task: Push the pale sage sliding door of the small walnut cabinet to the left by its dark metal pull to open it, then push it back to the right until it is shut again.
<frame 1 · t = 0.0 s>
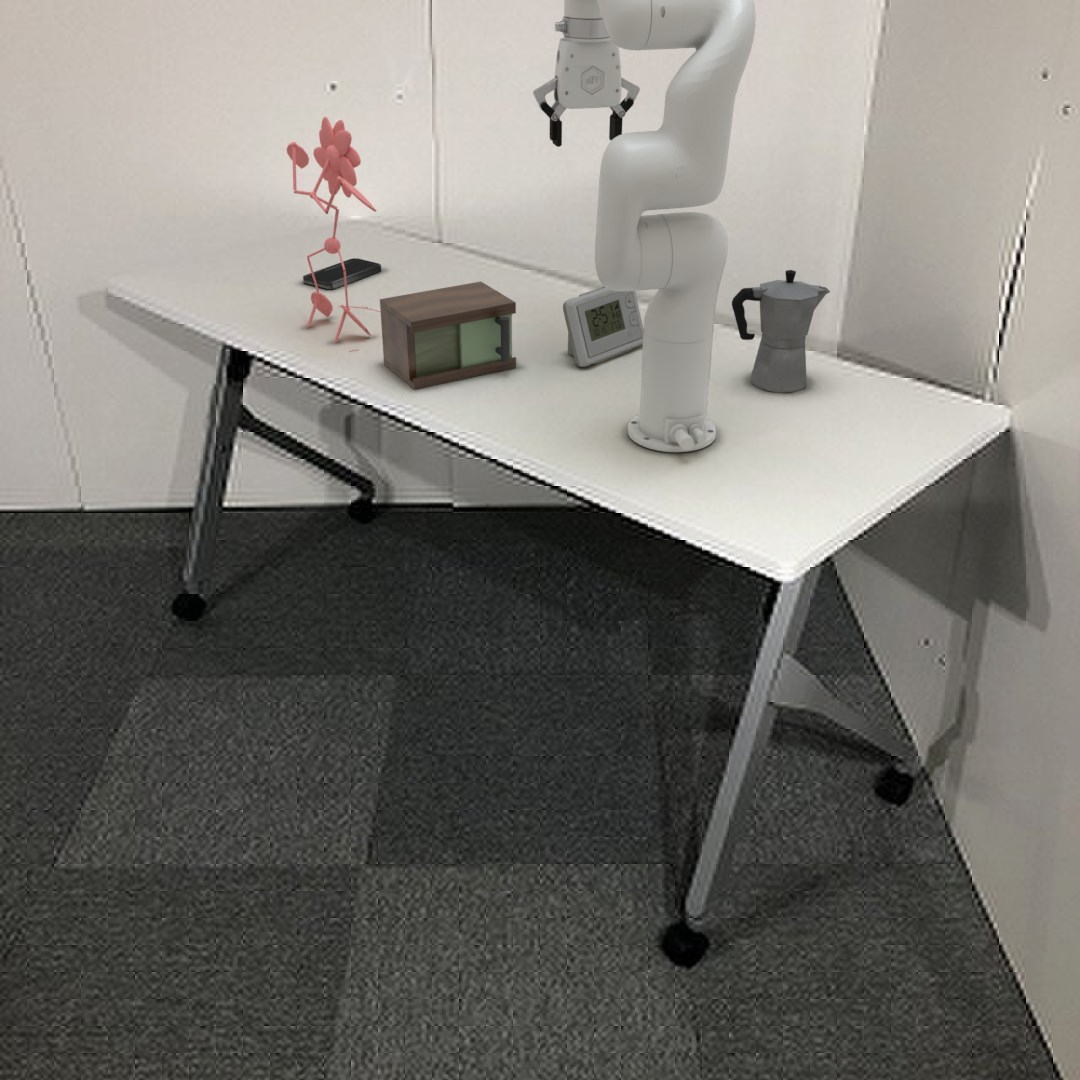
hand: (585, 143, 194), 31 cm above the table, tool pointing down, fingers open, 9 cm apart
sliding door: (490, 342, 188), point 5 cm above the table, slide at 0.0 cm
phone: (342, 277, 233), on the table
digital clock: (603, 355, 199), on the table
cabinet: (447, 364, 194), on the table
coffeepot: (771, 383, 189), on the table
figurine: (355, 327, 209), on the table
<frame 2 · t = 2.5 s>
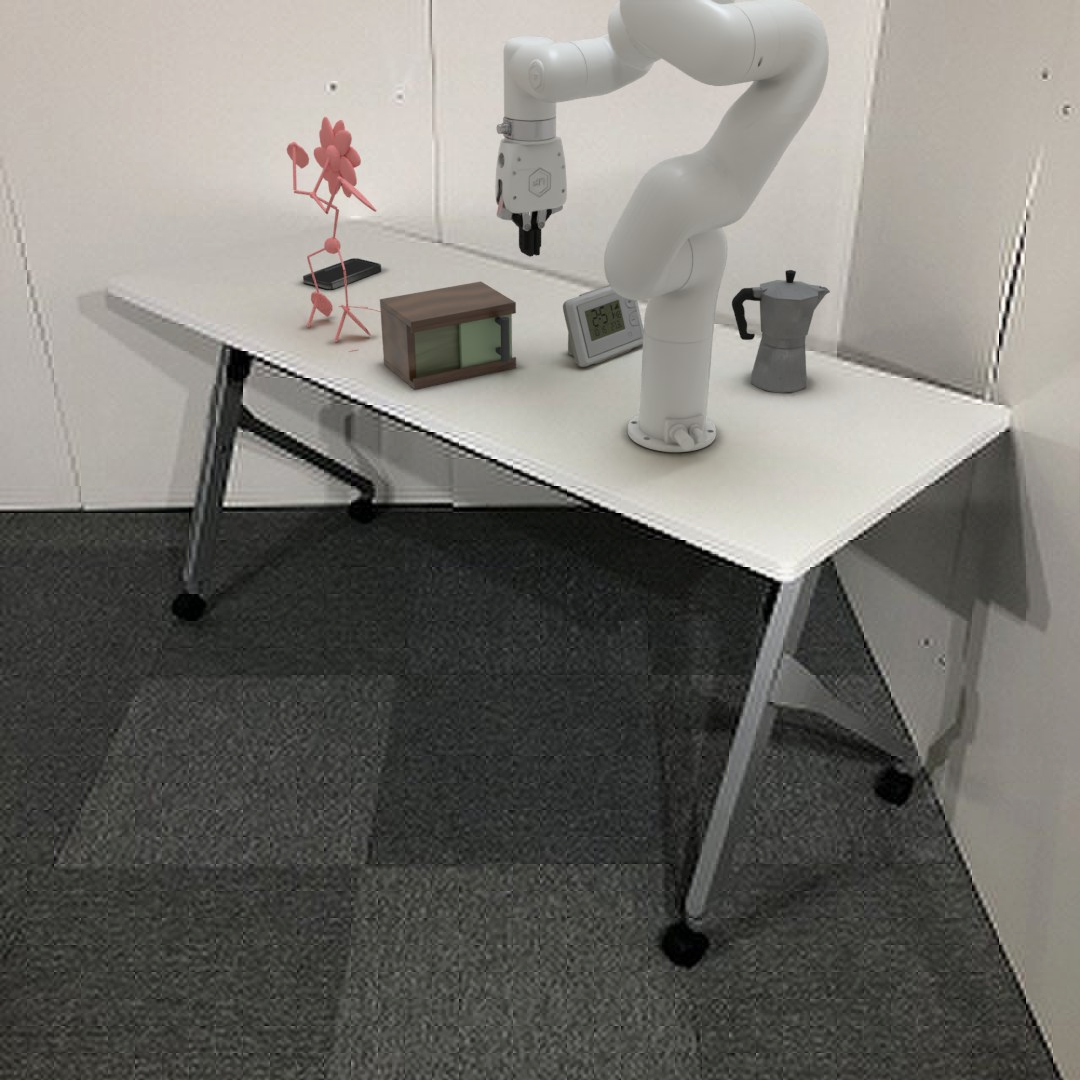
hand: (530, 253, 183), 19 cm above the table, tool pointing down, fingers closed
nothing on the table moved.
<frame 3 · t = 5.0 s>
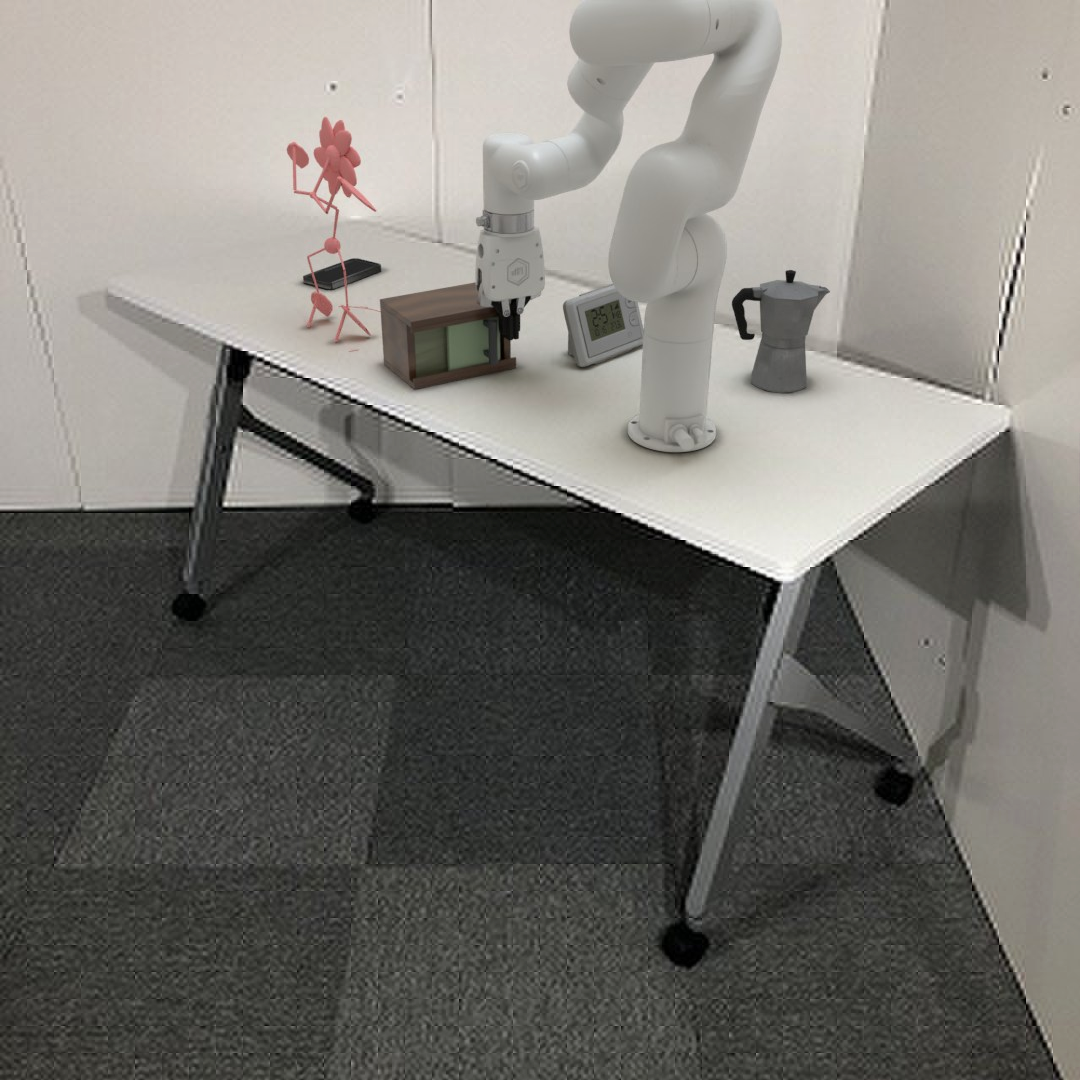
hand: (509, 337, 188), 6 cm above the table, tool pointing down, fingers closed
sliding door: (478, 344, 187), point 5 cm above the table, slide at 2.2 cm, touching gripper
everything else where it was.
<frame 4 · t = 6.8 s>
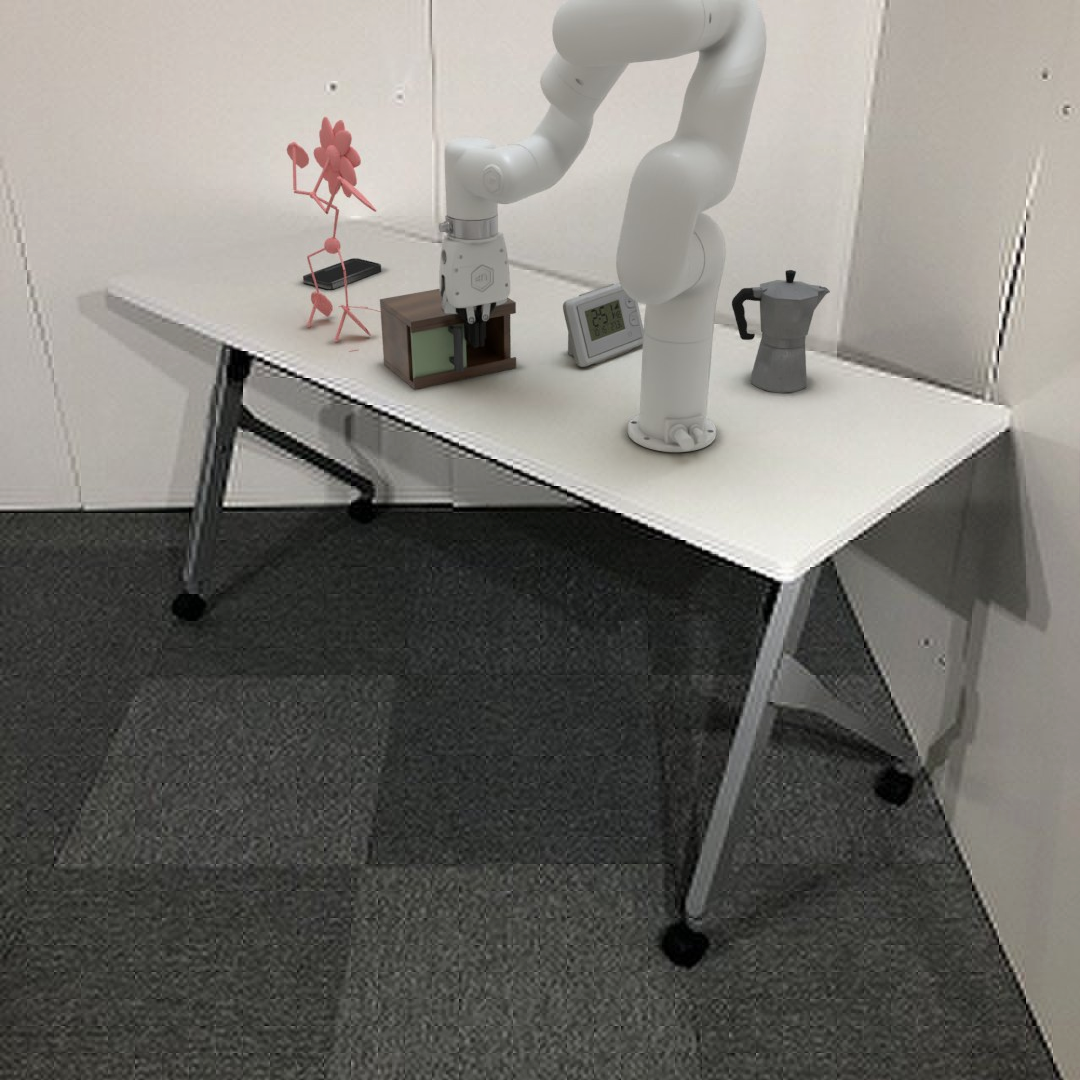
hand: (475, 344, 185), 6 cm above the table, tool pointing down, fingers closed
sliding door: (443, 351, 184), point 5 cm above the table, slide at 8.2 cm, touching gripper
everything else where it was.
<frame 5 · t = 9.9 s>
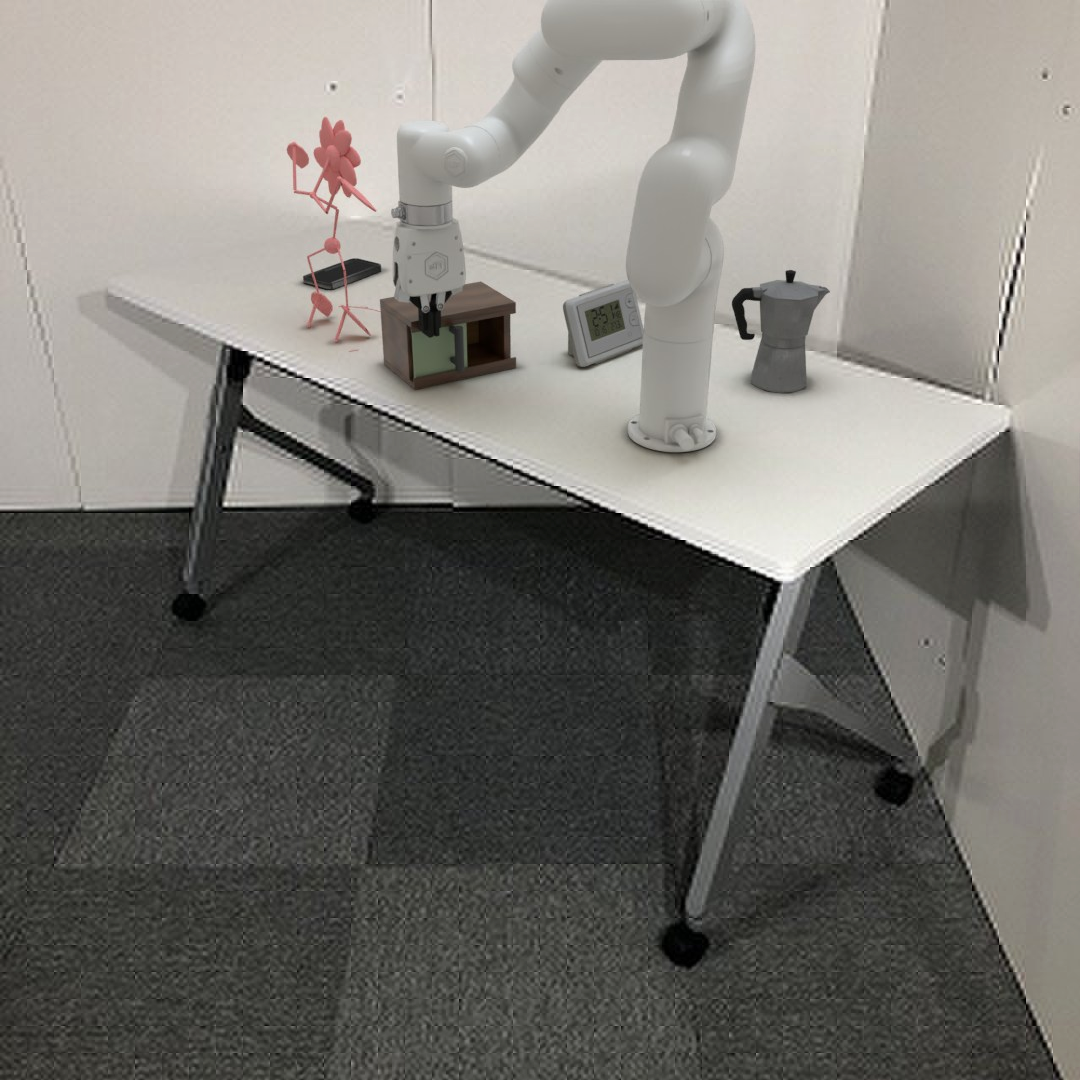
hand: (430, 333, 181), 9 cm above the table, tool pointing down, fingers closed
sliding door: (444, 351, 184), point 5 cm above the table, slide at 8.0 cm
everything else where it was.
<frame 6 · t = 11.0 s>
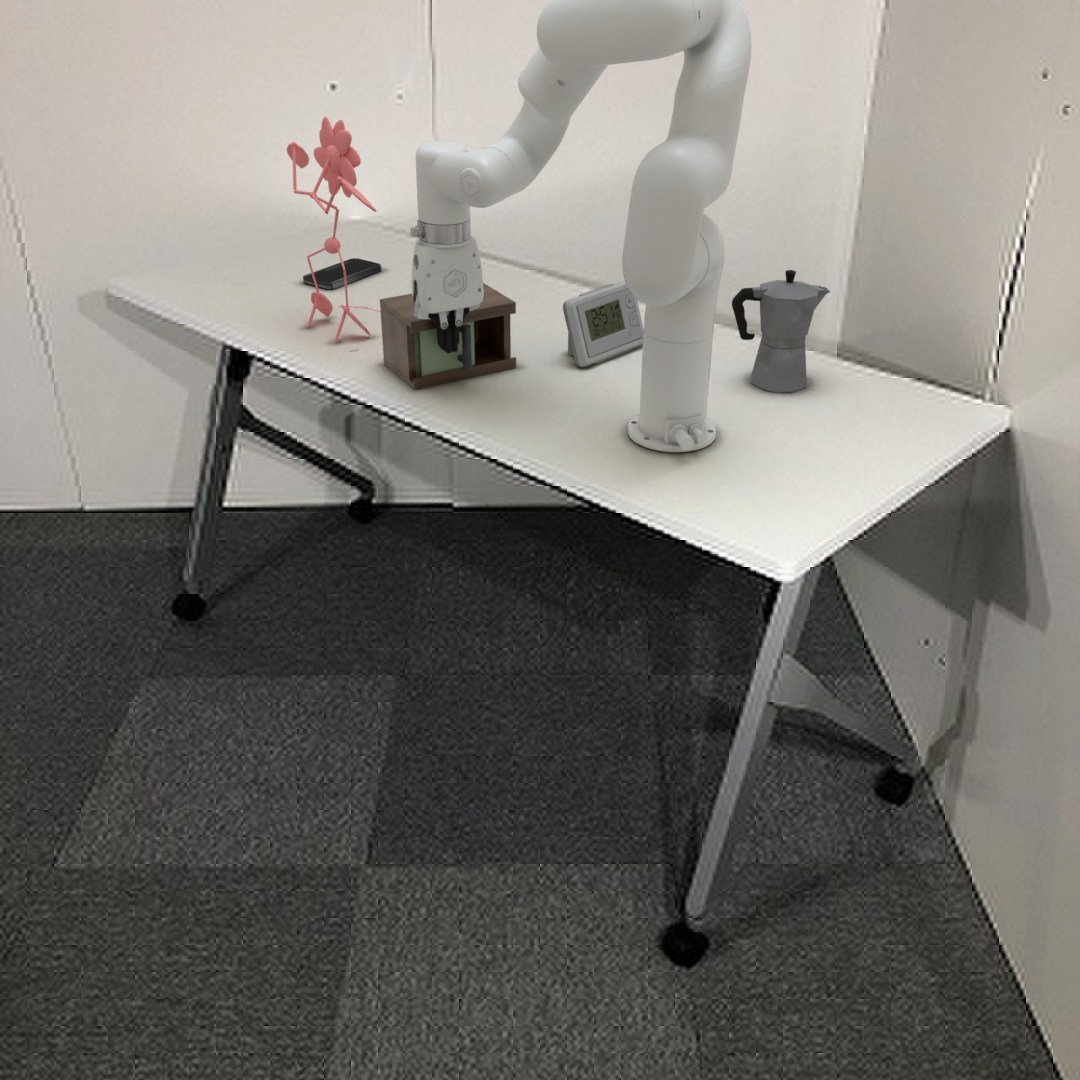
hand: (448, 349, 183), 6 cm above the table, tool pointing down, fingers closed
sliding door: (452, 350, 185), point 5 cm above the table, slide at 6.7 cm, touching gripper
everything else where it was.
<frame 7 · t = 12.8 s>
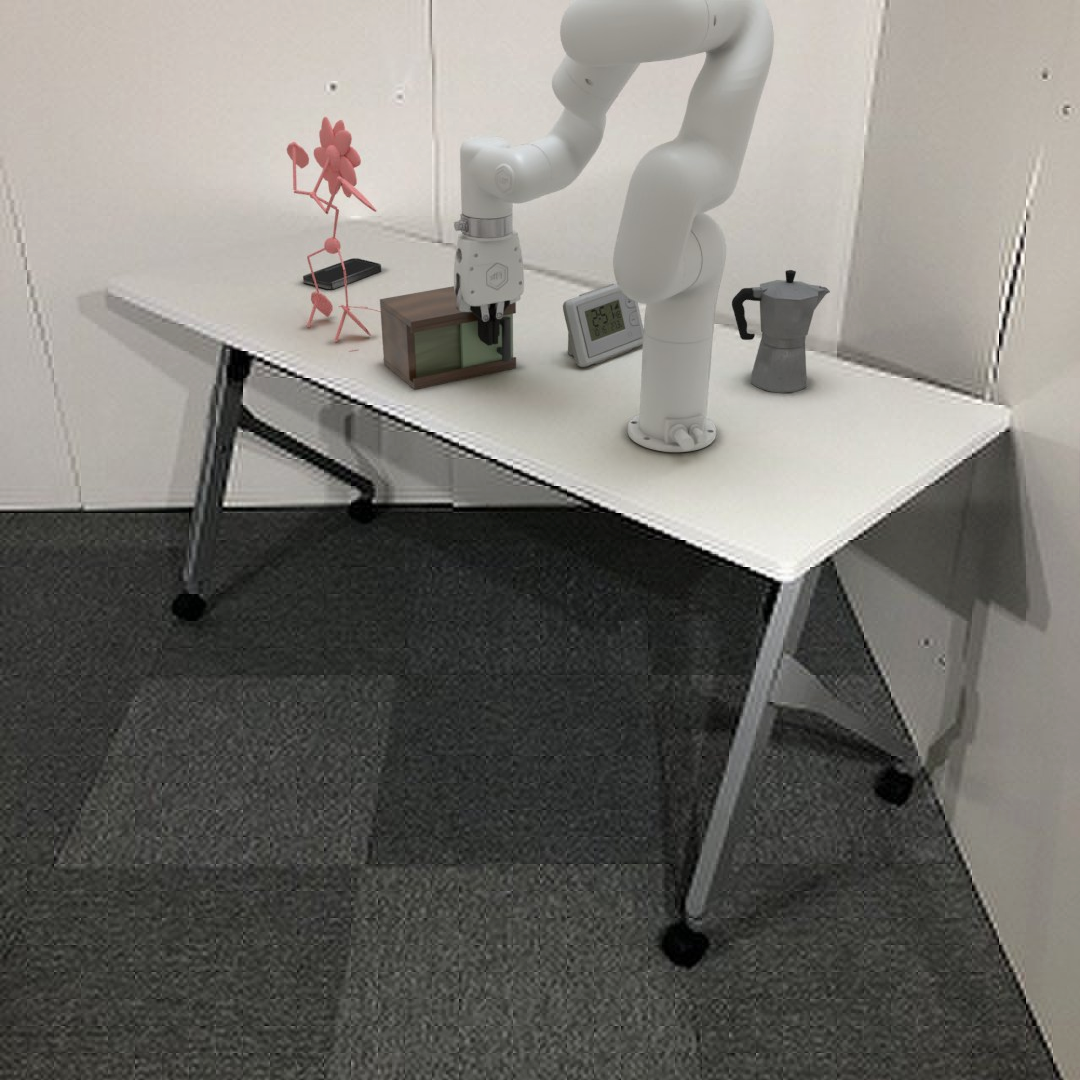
hand: (488, 341, 186), 6 cm above the table, tool pointing down, fingers closed
sliding door: (491, 342, 188), point 5 cm above the table, slide at -0.2 cm, touching gripper
everything else where it was.
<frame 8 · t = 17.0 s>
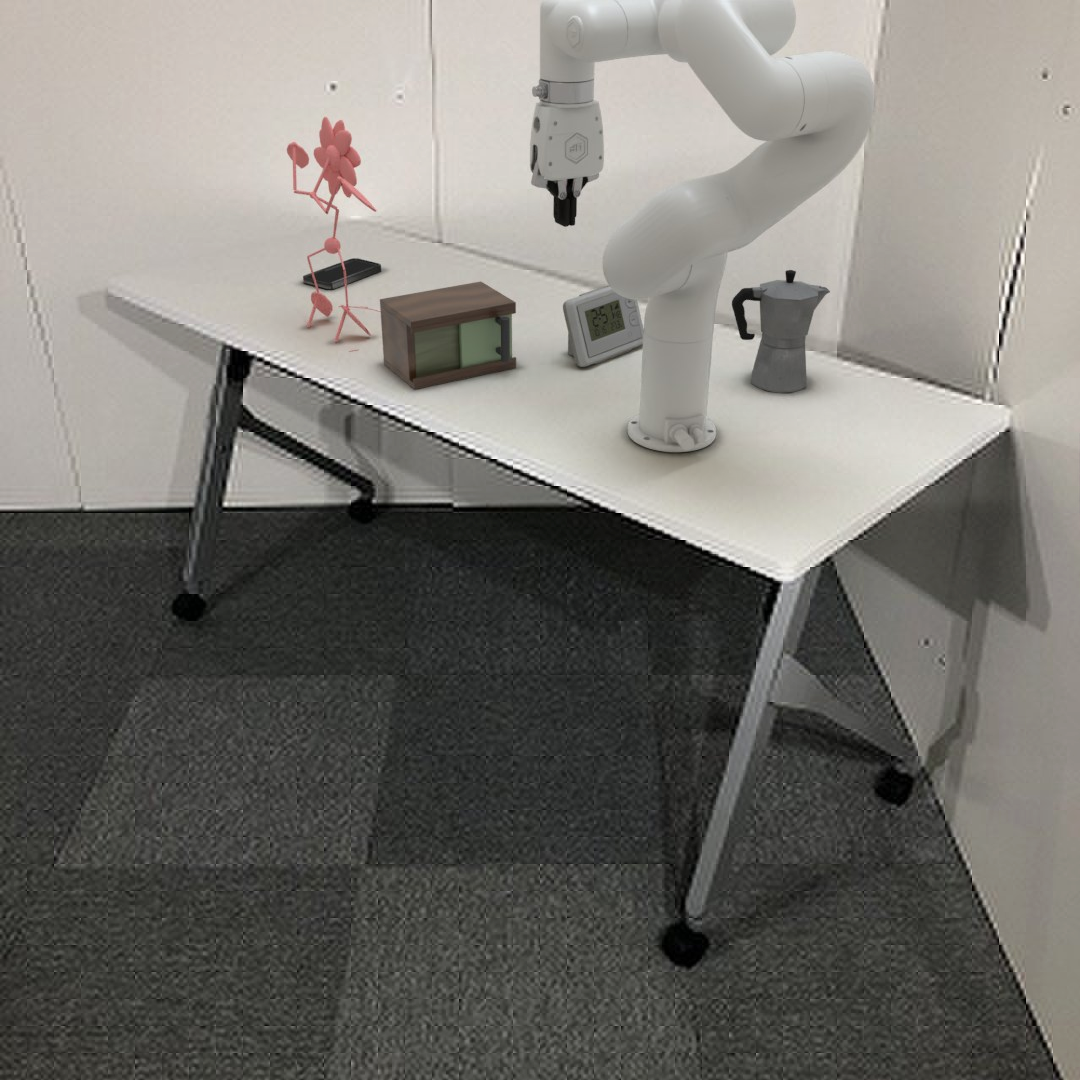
hand: (564, 223, 175), 25 cm above the table, tool pointing down, fingers closed
sliding door: (490, 342, 188), point 6 cm above the table, slide at 0.0 cm
everything else where it was.
at the end: sliding door pulled out 8.2 cm at the most during the clip, back to where it started at the end; sliding door slide at 0.0 cm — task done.
